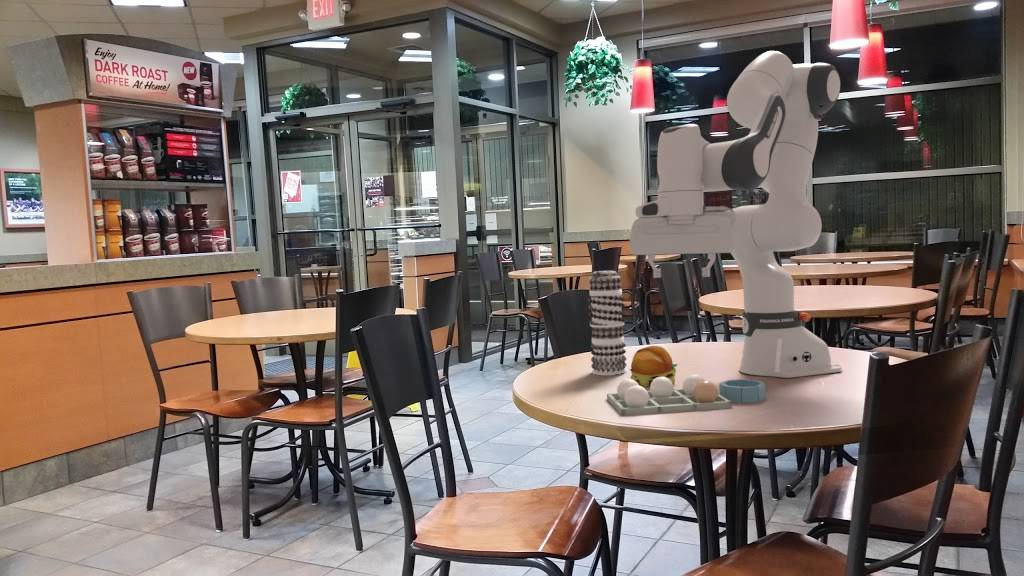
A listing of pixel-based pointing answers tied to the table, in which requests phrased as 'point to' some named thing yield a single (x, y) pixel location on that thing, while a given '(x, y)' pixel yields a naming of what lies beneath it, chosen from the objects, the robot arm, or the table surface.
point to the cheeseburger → (652, 365)
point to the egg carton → (661, 397)
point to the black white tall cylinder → (607, 323)
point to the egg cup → (743, 390)
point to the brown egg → (705, 392)
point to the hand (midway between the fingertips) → (681, 277)
